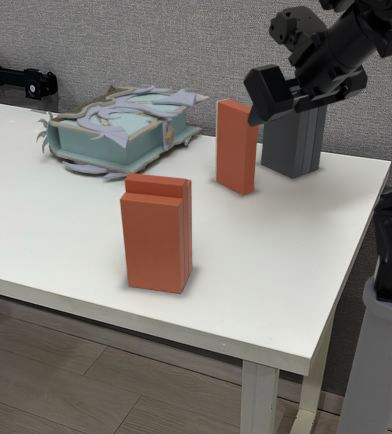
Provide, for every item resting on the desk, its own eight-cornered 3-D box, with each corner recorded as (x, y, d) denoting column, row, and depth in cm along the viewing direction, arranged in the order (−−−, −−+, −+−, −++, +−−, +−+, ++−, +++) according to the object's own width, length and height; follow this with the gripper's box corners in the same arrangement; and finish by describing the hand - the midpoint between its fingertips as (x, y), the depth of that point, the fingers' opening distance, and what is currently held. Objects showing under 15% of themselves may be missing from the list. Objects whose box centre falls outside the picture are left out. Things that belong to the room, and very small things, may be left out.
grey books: (318, 169, 99) (330, 84, 90) (292, 178, 96) (302, 92, 87) (286, 155, 104) (294, 74, 95) (260, 164, 101) (266, 81, 92)
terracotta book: (254, 191, 92) (259, 109, 84) (242, 195, 91) (247, 113, 83) (226, 177, 97) (228, 98, 88) (214, 181, 96) (216, 101, 87)
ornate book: (122, 121, 121) (26, 166, 100) (118, 73, 115) (15, 110, 94) (214, 139, 112) (130, 192, 92) (216, 88, 106) (127, 132, 86)
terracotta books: (192, 269, 75) (191, 171, 66) (181, 294, 70) (178, 192, 61) (142, 262, 76) (135, 165, 67) (128, 286, 72) (118, 186, 63)
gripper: (367, -24, 71) (294, 55, 85) (258, -8, 62) (197, 77, 76) (404, 57, 71) (326, 122, 85) (302, 84, 63) (233, 151, 76)
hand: (273, 116), depth 81 cm, fingers open, 9 cm apart
